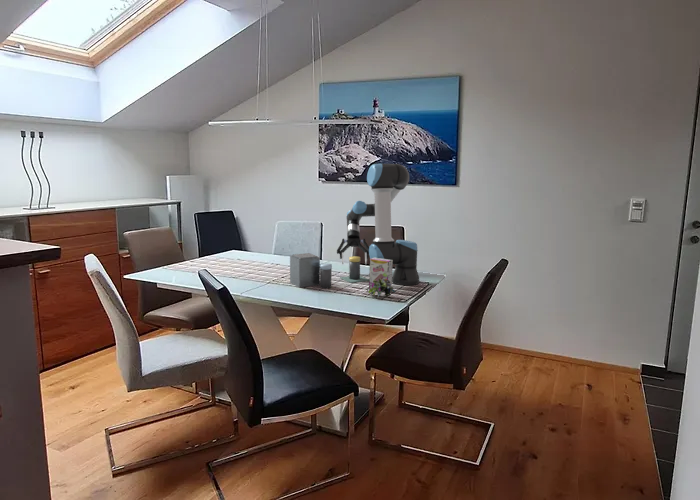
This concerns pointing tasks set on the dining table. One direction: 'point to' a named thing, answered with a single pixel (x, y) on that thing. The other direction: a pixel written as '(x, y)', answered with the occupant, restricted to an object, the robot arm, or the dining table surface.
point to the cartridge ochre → (354, 267)
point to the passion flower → (381, 287)
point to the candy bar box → (380, 270)
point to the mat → (354, 280)
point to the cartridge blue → (325, 275)
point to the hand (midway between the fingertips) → (354, 263)
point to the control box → (304, 270)
